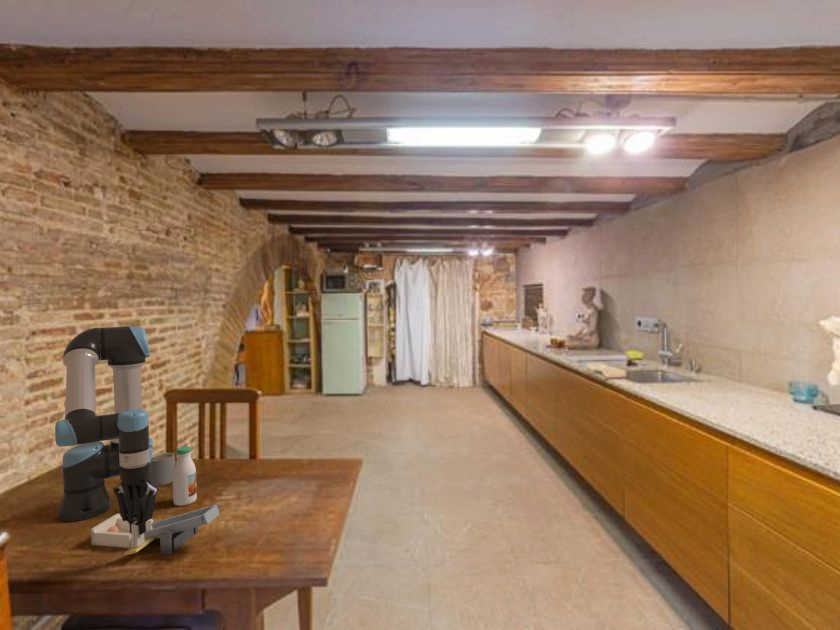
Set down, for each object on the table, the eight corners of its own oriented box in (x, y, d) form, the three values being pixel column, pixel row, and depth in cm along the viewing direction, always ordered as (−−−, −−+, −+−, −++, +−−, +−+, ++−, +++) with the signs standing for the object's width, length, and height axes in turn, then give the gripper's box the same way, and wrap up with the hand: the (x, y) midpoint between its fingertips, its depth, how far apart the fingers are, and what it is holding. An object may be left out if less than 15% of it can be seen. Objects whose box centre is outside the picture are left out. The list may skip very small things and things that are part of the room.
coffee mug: (180, 476, 192) (179, 453, 191) (163, 486, 182) (162, 461, 181) (152, 474, 194) (151, 451, 194) (134, 484, 184) (133, 459, 184)
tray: (91, 545, 139) (90, 529, 139) (117, 528, 149) (117, 513, 149) (129, 548, 137) (128, 532, 137) (153, 531, 147) (153, 516, 147)
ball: (103, 530, 142) (111, 527, 142) (111, 525, 145) (118, 523, 145) (106, 539, 142) (114, 536, 142) (114, 534, 145) (122, 531, 145)
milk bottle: (181, 508, 163) (179, 453, 162) (169, 503, 167) (167, 449, 166) (201, 499, 170) (199, 446, 169) (189, 495, 174) (187, 443, 173)
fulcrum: (160, 554, 134) (159, 532, 134) (188, 531, 147) (188, 511, 147) (169, 555, 134) (169, 533, 133) (197, 532, 146) (196, 512, 146)
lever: (119, 557, 131) (115, 547, 131) (158, 529, 147) (155, 520, 147) (190, 538, 127) (187, 527, 127) (223, 511, 143) (220, 502, 143)
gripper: (104, 468, 130) (107, 549, 130) (146, 470, 128) (149, 552, 128) (124, 459, 137) (128, 536, 138) (164, 460, 135) (168, 538, 136)
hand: (138, 544), depth 133 cm, fingers closed
